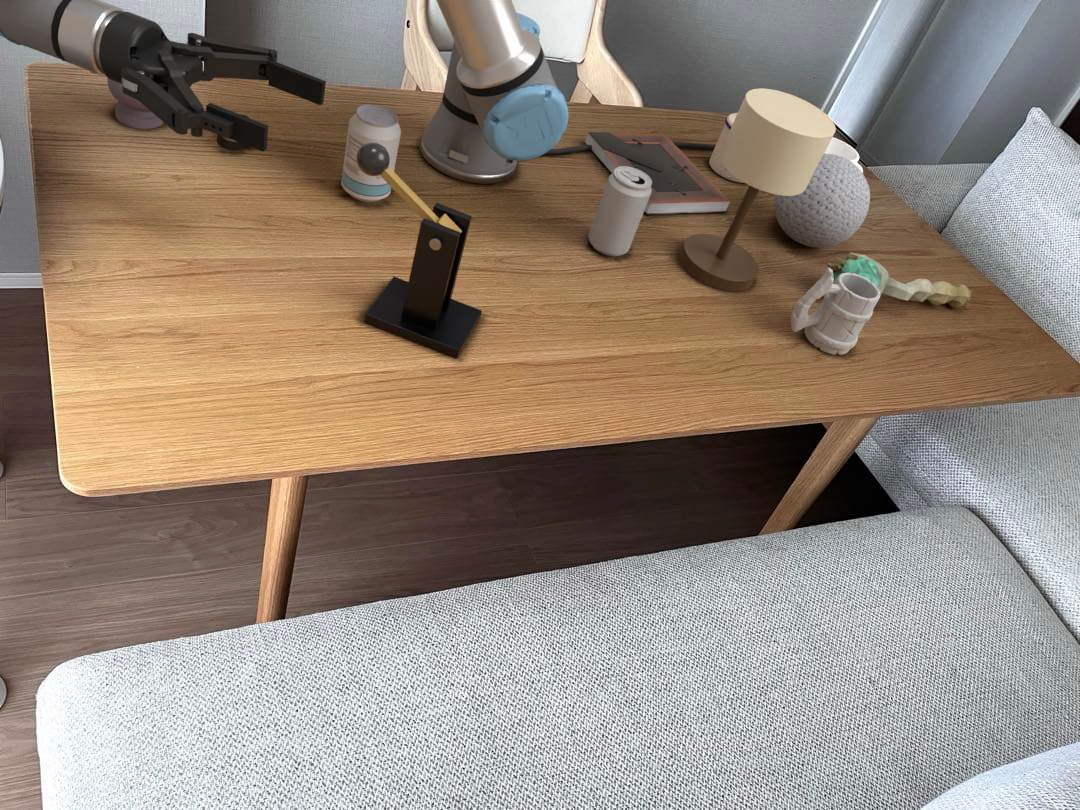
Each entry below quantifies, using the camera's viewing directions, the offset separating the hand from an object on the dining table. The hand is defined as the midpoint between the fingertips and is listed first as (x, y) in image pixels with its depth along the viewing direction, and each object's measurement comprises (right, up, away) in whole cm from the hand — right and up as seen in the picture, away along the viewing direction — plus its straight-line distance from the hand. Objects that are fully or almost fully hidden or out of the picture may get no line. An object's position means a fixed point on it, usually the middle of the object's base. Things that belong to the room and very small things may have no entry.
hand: (296, 115), depth 99 cm
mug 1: (+77, +6, +68) cm, 102 cm away
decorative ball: (+71, -4, +55) cm, 90 cm away
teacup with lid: (+63, +11, +68) cm, 93 cm away
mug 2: (+67, -22, +34) cm, 78 cm away
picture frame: (+46, +7, +57) cm, 74 cm away
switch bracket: (+12, -21, +13) cm, 28 cm away
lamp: (+54, -10, +41) cm, 68 cm away
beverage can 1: (+2, -2, +30) cm, 30 cm away
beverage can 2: (+36, -8, +37) cm, 53 cm away
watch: (-17, +6, +31) cm, 35 cm away
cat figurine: (-29, +9, +29) cm, 42 cm away
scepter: (+83, -14, +49) cm, 98 cm away
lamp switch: (+11, -9, +4) cm, 14 cm away
